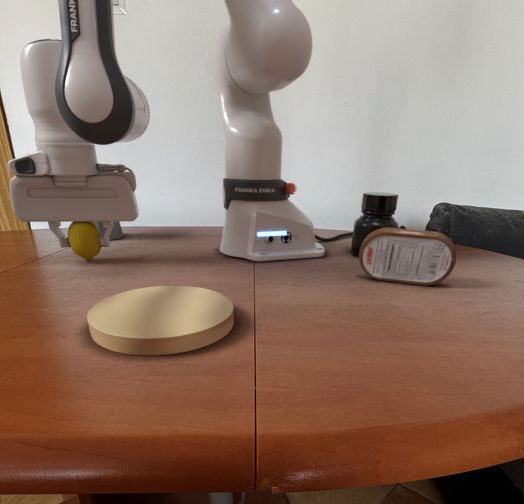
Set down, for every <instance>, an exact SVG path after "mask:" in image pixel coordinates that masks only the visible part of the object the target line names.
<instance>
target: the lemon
mask: <svg viewBox="0 0 524 504" xmlns="http://www.w3.org/2000/svg"><path fill="white" fill-rule="evenodd" d="M67 236H68V241H69V244H70V247H69V248H70V249H71V251H72V252H73V253H74V254H75V255H76V256H78V257H80V258H82V259H84V260H85V261H87V262H92V260H93V259H94V258H95V257H97V256H98V255H99V253H100V252H101V250H102V247H101V246H100V243H101V242H100V241H99V237H100V233H99V231H98V229H97V227H96V226H95V224H93V223H92V222H71V223H70V224H69V226H68V229H67Z"/></svg>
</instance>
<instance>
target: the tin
mask: <svg viewBox="0 0 524 504" xmlns="http://www.w3.org/2000/svg"><path fill="white" fill-rule="evenodd" d="M398 228H399V227H398ZM398 228H381V229H377V230H375V231H373V232H372V233H370V234H369V235H368V236H367V237H366V238H365V239H364V241H363V243H362V245H361V248H360V253H359V256H358V261H359V265H360V267H361V270H362V271H363V272H364V273H365V274H366V275H367V276H368V277H369V278H372V279H373V280H377V281H383V282H390V283H391V282H393V283H400V284H401V283H402V284H409V285H417V286H434V285H436V284H439V283H441V282H442V281H444V280H446V279H447V278H448V277H449V276H450V275H451V274H452V273H453V270H454V268H455V266H456V263H457V250H456V246H455V244H454V242H453V241H452V240H451V238H450V237H449V236H447V235H445V234H444V233H441V232H439V231H430V230H420V229H419V230H417V229H407V228H406V229H398Z"/></svg>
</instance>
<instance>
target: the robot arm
mask: <svg viewBox="0 0 524 504" xmlns="http://www.w3.org/2000/svg"><path fill="white" fill-rule="evenodd" d="M57 1H58V11H59V12H58V13H59V14H58V15H59V23H60V24H59V25H60V34H61V35H60V36H61V39H59V38H58V39H53V38H52V39H51V38H44V39H37V40H33V41H31V42H28V43H27V44H26V45H25V46H24V47H22V49H21V52H20V56H19V57H20V58H19V59H20V60H19V61H20V62H19V65H20V74H21V80H22V88H23V93H24V99H25V103H26V108H27V112H28V114H29V116H30V117H31V120H32V122H33V126H34V142H35V147H36V151H34V152H32V153H31V152H30V153H27V154H25V155H23V156H19V157H16V158H13V159H10V160H8V161H7V169H8V172H9V173H10V174H11V175H13V177H12V178H11V179H10V181H9V195H10V201H11V206H12V207H11V208H12V211H13V214H14V216H15V217H16V218H17V219H18V220H19V221H20V222H21V223H34V222H35V223H47V225H48V229H49V230H50V231H51V232H52V233H53V235H54V236H56V238H57V239H58V242H59V246H60V247H61V248H71V247H70V244H69V241H68V235H65V234H64V232H63V231H62V230H61V228H60V227H61V226H62V223H66V222H68V223H69V222H71V223H72V222H103V227H104V228H107V230H106V232H105V235H104V236H100V237H99V241H100V242H101V243H100V246H101V248H110V246H111V240H110V239H109V236H110V234H111V231H112V229H113V227H114V224H113V221H119V222H134V221H136V220H137V219H138V218H139V215H140V210H139V205H138V201H137V196H136V193H135V191H136V189H137V178H136V174H135V172H134V171H133V170H132V169H131V168H129V167H127V166H126V165H125V164H121V163H120V164H119V163H118V164H109V163H98V157H97V151H96V145H98V146H108V145H113V144H115V143H116V144H117V143H118V144H119V143H129V142H133V141H135V140H137V139H139V138H140V137H141V136H142V135H144V134H145V132H146V130H147V128H148V126H149V123H150V115H151V114H150V113H151V112H150V106H149V103H148V99H147V97H146V95H145V93H144V91H142V89H141V88H140V87H139V86H138V85H137V84H136V82H134V81H133V80H132V79H130V78H129V77H127V76H126V75H125V74H124V72H123V71H122V69H121V66H120V64H119V60H118V56H117V52H116V39H115V38H116V37H115V20H114V18H115V17H114V4H113V0H57ZM223 1H224V4H225V7H226V10H227V13H228V16H229V23H230V24H229V25H227V26H225V27H223V28H222V29H220V30H219V32H217V34H215V37H214V38H213V39H212V40H211V42H210V45H209V46H208V48H207V50H206V54H205V61H204V63H205V72H206V76H207V78H208V81H209V82H210V84H211V86H212V87H213V89H214V92H215V97H216V101H217V106H218V110H219V116H220V121H221V126H222V134H223V150H224V151H223V153H224V178H223V179H222V205H223V208H224V217H223V228H222V234H221V240H220V245H219V248H218V251H219V252H220V253H222V254H223V255H226V256H230V257H236V258H243V259H246V260H250V261H253V262H269V261H282V260H296V259H308V258H309V259H310V258H321V257H322V258H323V257H324V256H325V254H326V249H325V247H324V246H323V245H322V244H321V243H319V242H318V241H320V242H325V243H328V242H333V241H336V240H338V239H341V238H347V237H351V236H353V231H350V232H344V233H341V234H337V235H335V236H332V237H321V236H319V235H317V234H316V232H315V227H314V223H313V221H312V220H311V219H310V217H308V215H306V214H305V213H304V212H303V211H302V210H301V209H300V208H299V207H298V206H296V205H295V204H294V203H293V202H292V201H291V200H290V199H289V198H290V197H291V195H295V194H296V193H297V190H298V188H297V185H296V184H295V183H293V182H286V181H285V180H283V179H282V160H283V159H282V158H283V157H282V156H283V134H282V131H281V129H280V128H279V126H278V125H277V123H276V121H275V118H274V113H273V109H272V104H271V103H272V102H271V93H272V92H276V91H280V90H283V89H285V88H287V87H288V86H290V85H291V84H293V83H294V82H296V81H297V80H298V79H299V78H301V76H302V75H303V74H304V73H305V72H306V70H307V68H308V67H309V65H310V62H311V59H312V55H313V35H312V29H311V26H310V24H309V21H308V19H307V17H306V15H305V14H304V13H303V11H302V10H301V9H300V8H299V7H297V6H296V4H295V3H294V2H293V0H223ZM398 229H407V228H406V226H405V225H400V226H398ZM316 240H317V241H316Z"/></svg>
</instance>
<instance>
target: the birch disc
mask: <svg viewBox="0 0 524 504" xmlns="http://www.w3.org/2000/svg"><path fill="white" fill-rule="evenodd" d="M234 309H235V308H234V303H233V302H232V300H231V299H230V298H229V297H228V296H226V295H224V294H223V293H220V292H218V291H215V290H212V289H208V288H204V287H198V286H189V285H158V286H157V285H156V286H147V287H140V288H135V289H130V290H126V291H122V292H119V293H116V294H113V295H111V296H108V297H106V298H103V299H102V300H100V301H98V302H97V303H95V304H94V305H93V306H91V308H90V309H89V310H88V312H87V314H86V319H87V325H88V329H89V334H90V337H91V338H92V339H91V340H93V342H94V343H96V344H97V345H99V346H100V347H102V348H103V349H106V350H108V351H112V352H115V353H120V354H126V355H132V356H133V355H134V356H167V355H174V354H175V355H176V354H181V353H186V352H191V351H195V350H198V349H201V348H204V347H207V346H210V345H212V344H214V343H216V342H218V341H220V340H221V339H223V338H224V337H226V336H227V335H228V334H229V333H230V332H231V330H232V329H233V327H234V323H235V315H234V314H235V313H234V311H235V310H234Z"/></svg>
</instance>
